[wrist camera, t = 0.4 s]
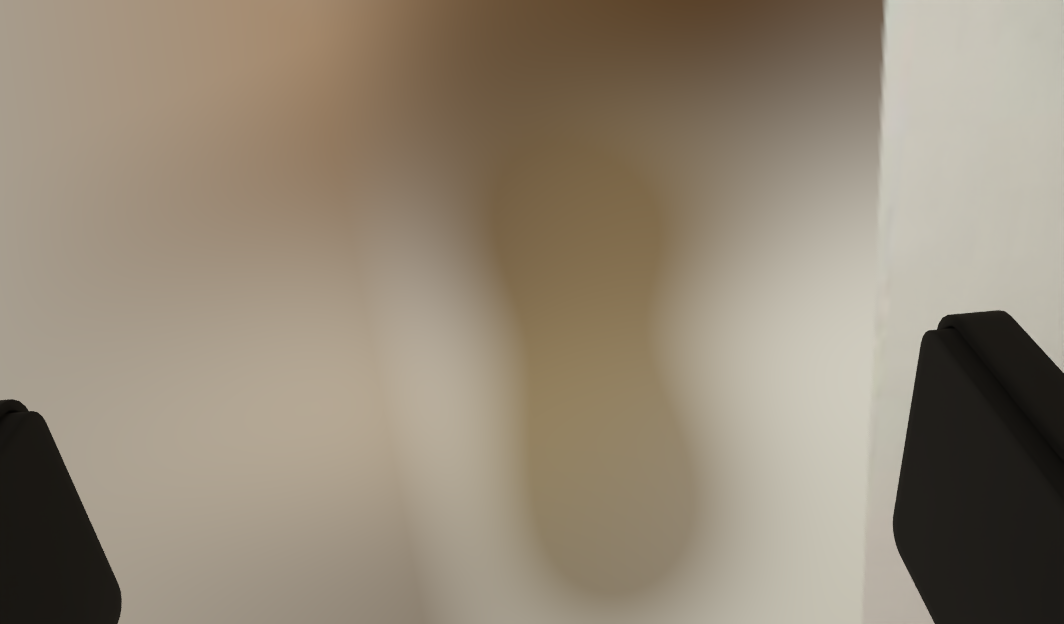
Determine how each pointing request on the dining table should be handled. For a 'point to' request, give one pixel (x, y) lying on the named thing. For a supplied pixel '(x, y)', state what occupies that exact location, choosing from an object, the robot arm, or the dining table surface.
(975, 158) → the dining table surface
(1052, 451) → the robot arm
